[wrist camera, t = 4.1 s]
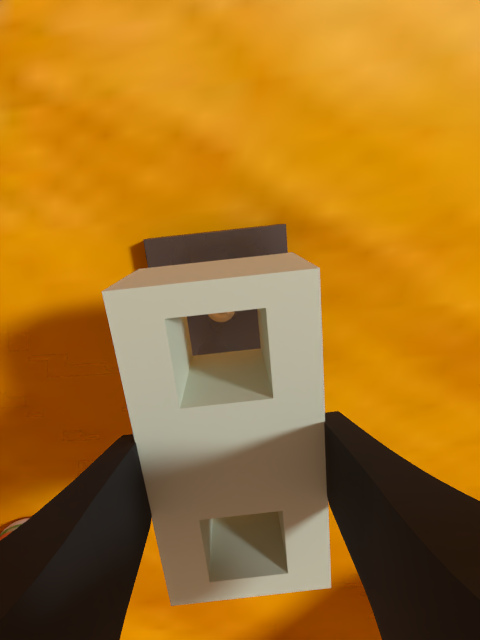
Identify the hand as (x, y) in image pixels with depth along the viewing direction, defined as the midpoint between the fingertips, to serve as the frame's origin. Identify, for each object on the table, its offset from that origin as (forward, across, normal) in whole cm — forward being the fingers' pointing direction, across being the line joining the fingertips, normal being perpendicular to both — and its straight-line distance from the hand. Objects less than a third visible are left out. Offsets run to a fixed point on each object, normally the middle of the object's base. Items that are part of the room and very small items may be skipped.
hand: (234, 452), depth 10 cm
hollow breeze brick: (+3, 0, 0) cm, 3 cm away
